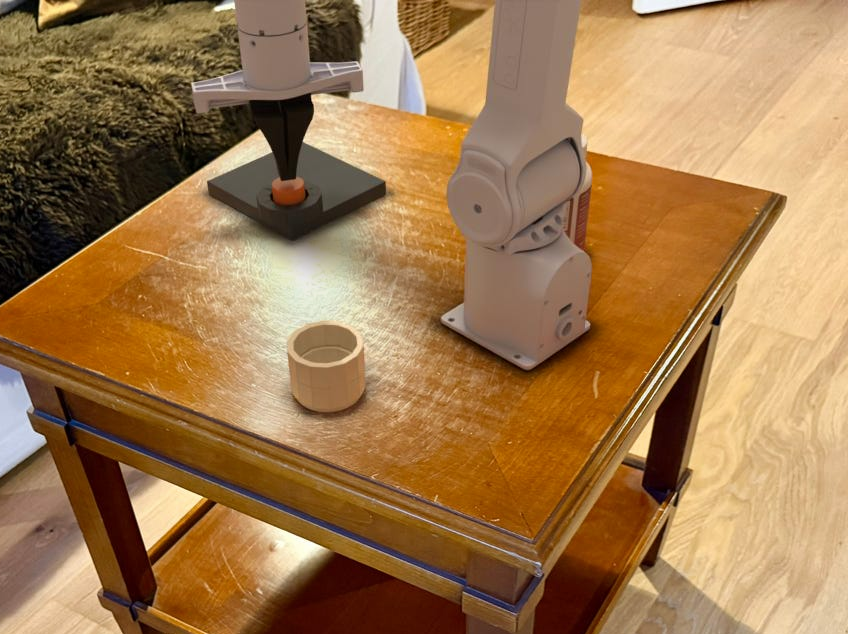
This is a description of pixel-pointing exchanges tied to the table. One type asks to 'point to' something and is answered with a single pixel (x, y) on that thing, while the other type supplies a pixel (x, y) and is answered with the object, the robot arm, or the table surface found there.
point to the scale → (324, 189)
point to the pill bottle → (579, 208)
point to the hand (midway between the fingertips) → (287, 175)
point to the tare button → (288, 191)
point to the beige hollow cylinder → (326, 365)
